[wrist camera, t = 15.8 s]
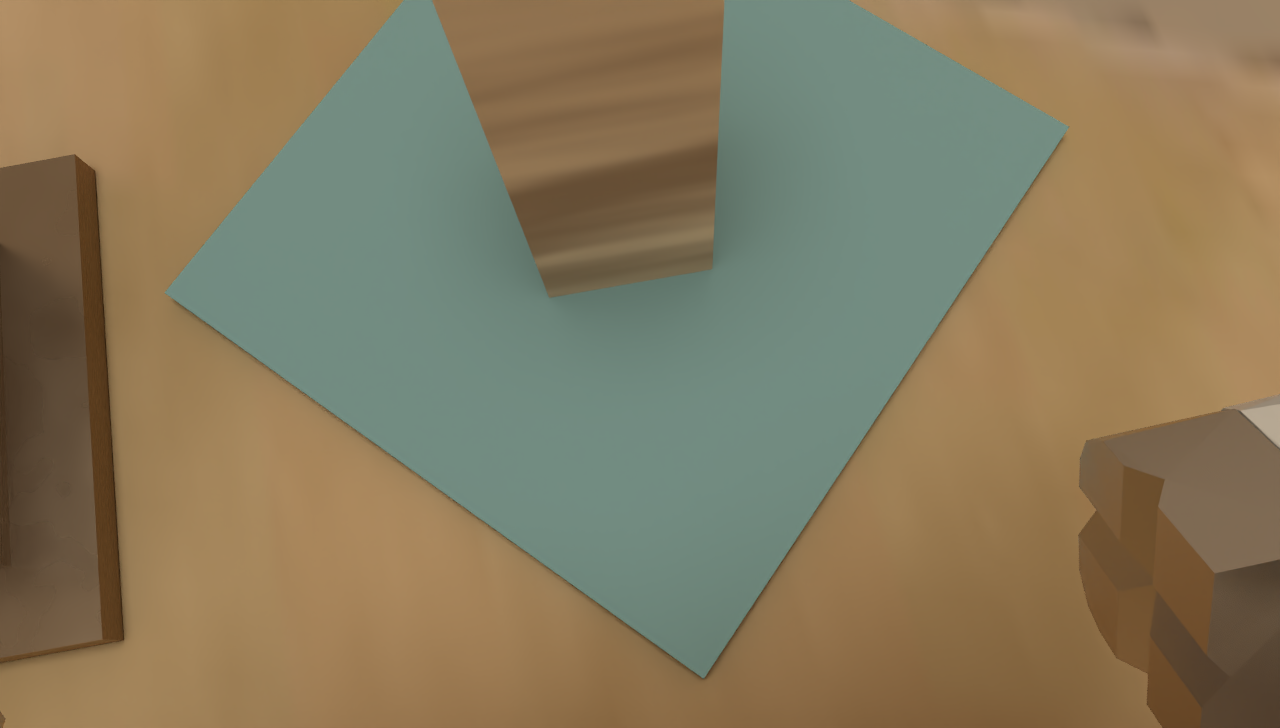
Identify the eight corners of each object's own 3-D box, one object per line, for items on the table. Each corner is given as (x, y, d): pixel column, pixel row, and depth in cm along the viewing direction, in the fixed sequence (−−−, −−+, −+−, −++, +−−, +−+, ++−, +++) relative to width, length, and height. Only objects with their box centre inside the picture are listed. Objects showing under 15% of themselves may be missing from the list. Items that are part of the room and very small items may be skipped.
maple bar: (711, 269, 28) (728, -97, 15) (549, 297, 28) (414, -43, 15) (683, 120, 29) (673, -352, 16) (525, 148, 29) (380, -300, 16)
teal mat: (1062, 135, 29) (1069, 126, 29) (703, 678, 26) (703, 678, 26) (548, -161, 32) (546, -174, 32) (173, 299, 29) (164, 292, 29)
